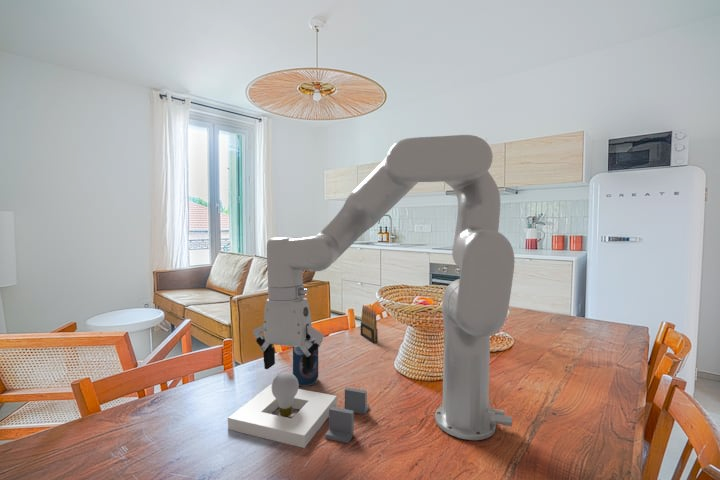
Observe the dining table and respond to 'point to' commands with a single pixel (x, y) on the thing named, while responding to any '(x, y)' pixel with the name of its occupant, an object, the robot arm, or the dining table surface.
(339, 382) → the dining table surface
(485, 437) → the robot arm
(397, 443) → the dining table surface
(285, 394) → the light bulb
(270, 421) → the socket board
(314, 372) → the soda can
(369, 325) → the colored pencil box
